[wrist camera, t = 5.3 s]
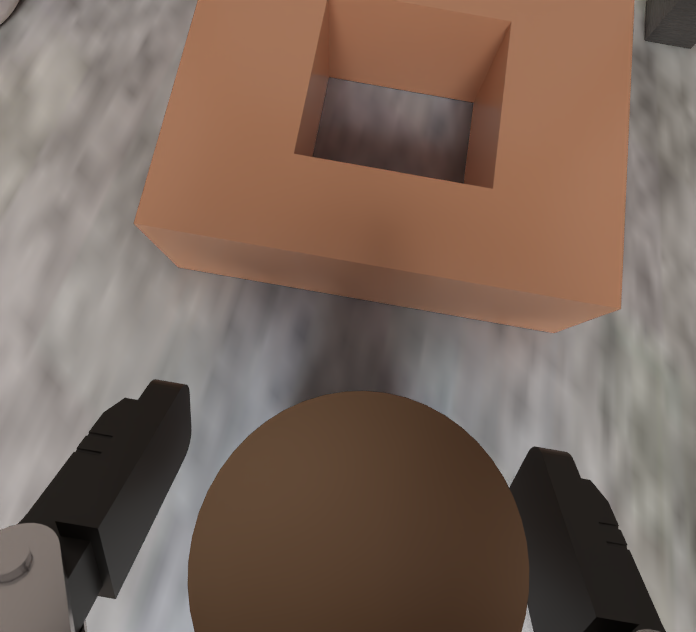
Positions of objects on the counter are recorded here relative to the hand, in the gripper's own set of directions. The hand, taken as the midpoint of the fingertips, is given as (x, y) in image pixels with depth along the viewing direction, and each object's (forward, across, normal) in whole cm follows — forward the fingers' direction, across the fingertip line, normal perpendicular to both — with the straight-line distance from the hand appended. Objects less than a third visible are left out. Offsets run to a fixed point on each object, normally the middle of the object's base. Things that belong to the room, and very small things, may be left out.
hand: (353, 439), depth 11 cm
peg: (+3, 0, +5) cm, 5 cm away
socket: (+11, 0, -4) cm, 12 cm away
